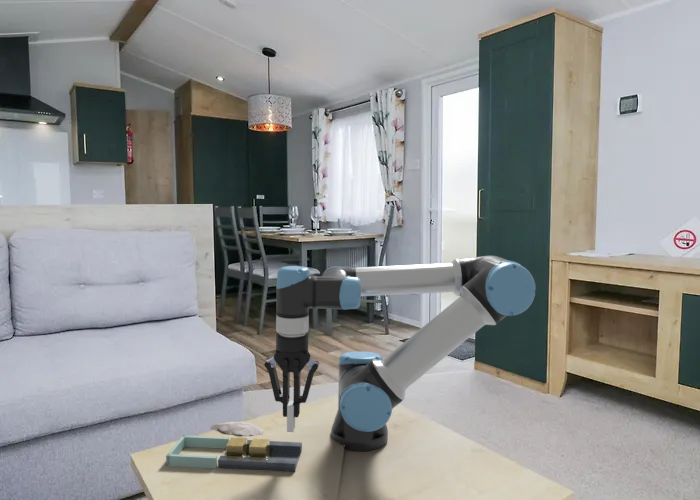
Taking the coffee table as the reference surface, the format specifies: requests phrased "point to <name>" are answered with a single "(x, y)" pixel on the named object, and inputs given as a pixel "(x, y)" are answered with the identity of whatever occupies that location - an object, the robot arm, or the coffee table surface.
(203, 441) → the tray
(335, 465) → the coffee table surface
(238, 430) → the stone tool
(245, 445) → the chip
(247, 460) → the slot board
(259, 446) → the chip
